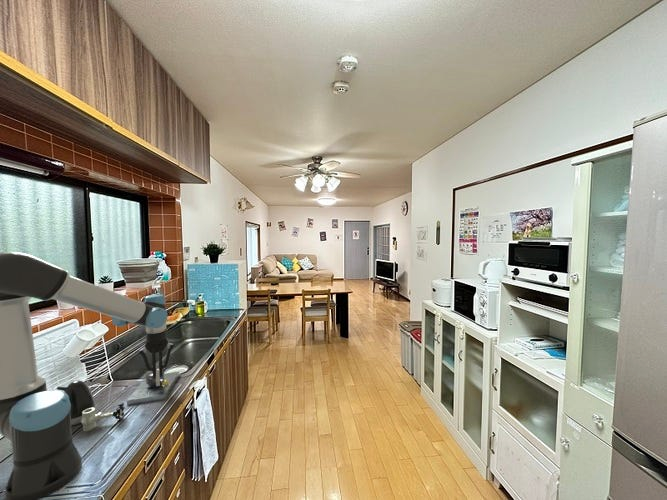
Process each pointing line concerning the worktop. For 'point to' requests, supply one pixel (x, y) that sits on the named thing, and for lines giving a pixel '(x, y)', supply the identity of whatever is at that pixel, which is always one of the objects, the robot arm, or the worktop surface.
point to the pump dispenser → (78, 399)
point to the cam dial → (152, 382)
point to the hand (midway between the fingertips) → (158, 384)
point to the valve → (99, 417)
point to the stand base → (152, 390)
